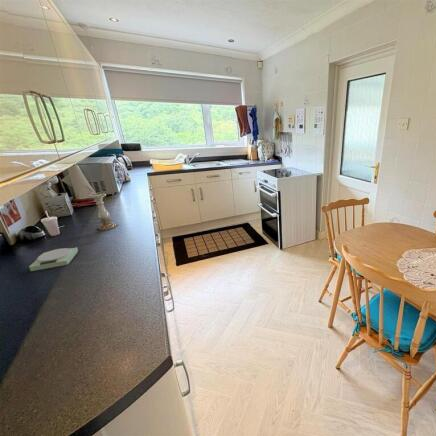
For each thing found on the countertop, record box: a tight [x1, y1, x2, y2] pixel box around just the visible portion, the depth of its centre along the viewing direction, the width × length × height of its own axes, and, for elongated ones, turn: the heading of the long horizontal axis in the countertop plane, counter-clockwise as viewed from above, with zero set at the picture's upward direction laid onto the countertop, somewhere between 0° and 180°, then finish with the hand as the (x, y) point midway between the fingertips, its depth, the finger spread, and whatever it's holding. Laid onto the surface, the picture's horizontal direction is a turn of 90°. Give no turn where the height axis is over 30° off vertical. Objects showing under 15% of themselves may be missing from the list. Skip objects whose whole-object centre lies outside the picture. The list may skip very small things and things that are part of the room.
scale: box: [28, 246, 79, 272], centre depth 103 cm, size 12×13×3 cm
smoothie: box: [40, 210, 61, 237], centre depth 126 cm, size 6×6×14 cm
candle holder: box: [88, 192, 117, 231], centre depth 134 cm, size 9×9×20 cm
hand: (37, 191), depth 128 cm, fingers open, 8 cm apart
